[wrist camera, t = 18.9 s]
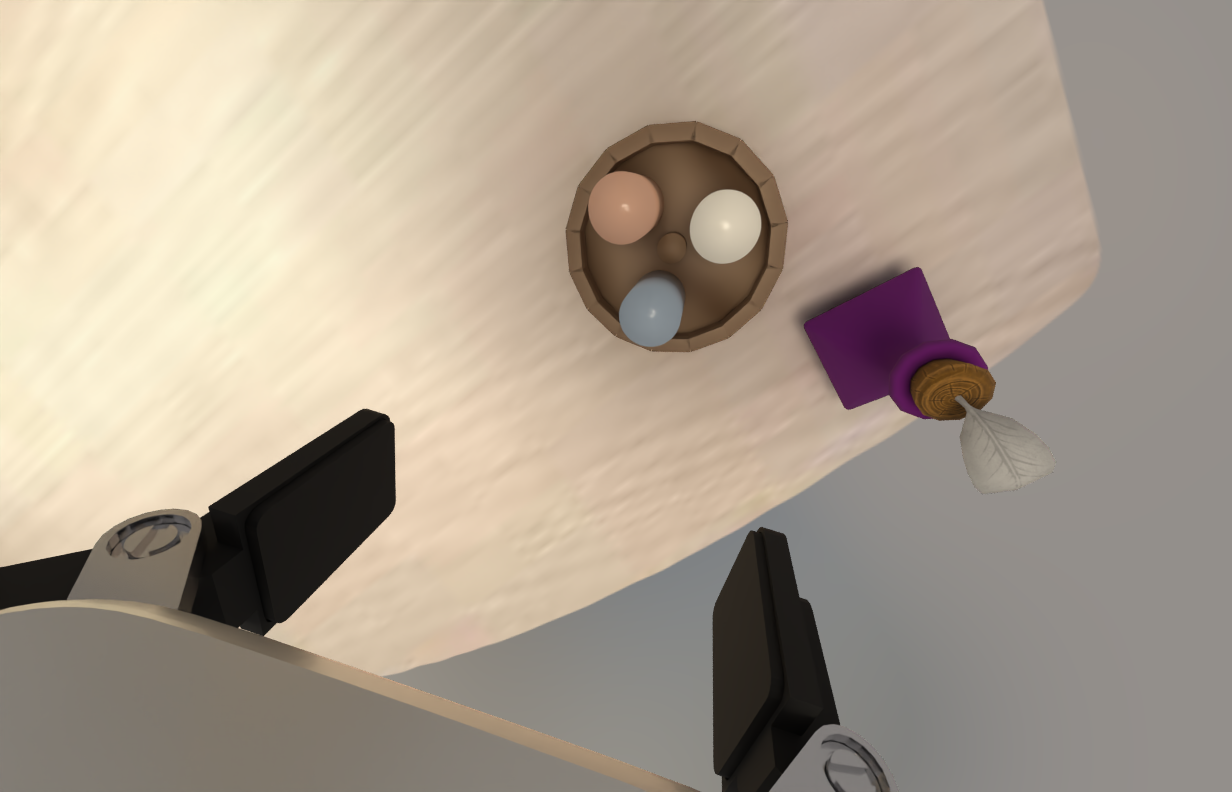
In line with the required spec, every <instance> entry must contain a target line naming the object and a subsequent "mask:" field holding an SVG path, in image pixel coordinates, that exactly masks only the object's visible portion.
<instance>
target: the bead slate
mask: <svg viewBox="0 0 1232 792" xmlns="http://www.w3.org/2000/svg"><path fill="white" fill-rule="evenodd" d="M685 298H686V296H685V289H684V286H683V284H682V283H681V281H680V280H679V279H678V278H677V277H676V276H675V275H674V274H672V273H670V272H667V271H663V270H656V271H651V272H649V273H647V274H645V275H644V276H642V277H641V278H640V279H639V281H638V282H637V283H636V284H635V286H634V287H633V288H632V290H631V291H630V292H629V293H628V295H627V296H626V297H625V298H624V300H623V302H622V304H621V307H620V311H619V321H620V325H621V328H622V330H623V332H624V333H625V335H626V336H627V337H628V338H629V339H630V340H631V341H633V342H635V343H636V344H639V345H641V346H646V347H655V346H659V345H662V344H664V343H666V342H668V341H669V340H670V339H672V338H673V336H674V335H675V334H676V332H677V331H678V328H679V326H680V322H681V317H682V313H683V308H684V304H685Z"/></svg>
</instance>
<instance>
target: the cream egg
mask: <svg viewBox="0 0 1232 792" xmlns="http://www.w3.org/2000/svg"><path fill="white" fill-rule="evenodd" d="M760 231H761V216H760V212H759V210H758V207H757V206H756V204H755V203H754V201H753V200H752V199H751V198H750V197H749V196H747V195H746V194H744V193H742V192H739V191H736V190H725V189H724V190H718V191H715V192H712V193H711V194H709V195H707V196H706V197H705V198H704V199H703V200H702V201H701V202H700V203H699V205H698V206H697V208H696V209H695V211H694V213H693V216H692V219H691V223H690V237H691V241H692V244H693V246H694V248H695V249H696V251H697V252H698V253H699V254H700V255H701V256H702V257H703V258H705V259H706V260H708V261H710V262H713V263H718V264H726V263H732V262H735V261H737V260H739V259H741V258H743V257H744V256H745V255H747V254H748V253H749V252H750V251H751V250H752V248H753V247H754V246H755V244H756V242H757V240H758V238H759V235H760Z"/></svg>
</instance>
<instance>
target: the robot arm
mask: <svg viewBox="0 0 1232 792" xmlns="http://www.w3.org/2000/svg"><path fill="white" fill-rule="evenodd" d="M395 502H396V488H395V428H394V424H393V423H392V422H390V418H389V417H388V416H387V415H386V414H382V413H379V412H376V411H372V410H369V409H362V410H360V411H358V412H357V413H355V414H354V415H352V416H350V417H349V418H347V419H346V420H344V421H343V422H341V423H339V424H338V425H336V426H335V427H333V428H332V429H330V430H328V431H327V432H325V433H324V434H322V435H321V436H319V437H317V438H316V439H314V440H313V441H311V442H309V443H308V444H306V445H305V446H303V447H302V448H300V449H298V450H297V451H295V452H294V453H292V454H291V455H289V456H287V457H286V458H284V459H283V460H281V461H280V462H278V463H276V464H275V465H273V466H272V467H270V468H269V469H267V470H265V471H264V472H262V473H261V474H259V475H258V476H256V477H254V478H253V479H251V480H250V481H248V482H247V483H245V484H243V485H242V486H240V487H239V488H237V489H235V490H234V491H232V492H231V493H229V494H228V495H226V496H224V497H223V498H221V499H220V500H218V501H217V502H215V503H213V504H212V505H210V506H209V507H208V508H209V511H210V512H208V513H207V514H205V515H204V516H202V517H201V518H199V516H198V515H197V514H195V513H193V512H190V511H188V510H181V509H165V510H157V511H153V512H148V513H144V514H141V515H138V516H135V517H133V518H130V519H127V520H126V521H124V522H122V523H120V524H118V525H116V526H114V527H113V528H111V529H110V530H109V531H107V532H106V533H105V534H103V535H102V536H101V538H100V539H99V540H98V541H97V543H96V544H95V546H94V548H93V549H90V550H85V551H80V552H75V553H70V554H65V555H60V556H55V557H50V558H45V559H40V560H35V561H30V562H25V563H20V564H15V565H10V566H5V567H0V792H700V791H698V790H695V789H693V788H691V787H688V786H686V785H683V784H680V783H678V782H675V781H672V780H669V779H667V778H664V777H662V776H659V775H656V774H654V773H651V772H648V771H646V770H643V769H640V768H637V767H635V766H632V765H630V764H627V763H624V762H622V761H619V760H616V759H614V758H611V757H608V756H605V755H602V754H600V753H597V752H594V751H591V750H588V749H585V748H583V747H580V746H577V745H574V744H571V743H569V742H566V741H563V740H560V739H557V738H555V737H552V736H549V735H546V734H543V733H540V732H538V731H535V730H532V729H529V728H526V727H523V726H521V725H518V724H515V723H512V722H509V721H506V720H504V719H501V718H498V717H495V716H492V715H490V714H486V713H484V712H481V711H478V710H475V709H472V708H470V707H467V706H464V705H461V704H458V703H455V702H452V701H449V700H447V699H444V698H441V697H438V696H435V695H432V694H429V693H427V692H424V691H421V690H418V689H415V688H412V687H409V686H406V685H403V684H401V683H398V682H395V681H392V680H389V679H386V678H383V677H381V676H378V675H375V674H372V673H369V672H366V671H363V670H360V669H357V668H354V667H351V666H349V665H346V664H343V663H340V662H337V661H334V660H331V659H328V658H325V657H322V656H319V655H316V654H313V653H311V652H308V651H305V650H302V649H299V648H296V647H293V646H290V645H287V644H284V643H281V642H278V641H275V640H272V639H270V638H267V637H264V635H265V634H266V633H267V632H268V631H269V630H270V629H271V628H272V627H273V626H274V625H275V624H276V623H282V622H284V621H286V620H287V619H288V618H289V617H290V616H291V615H292V614H293V613H294V612H295V611H296V610H297V609H298V608H299V607H300V606H301V605H302V604H303V603H304V602H305V601H306V600H307V599H308V598H309V597H310V596H311V595H312V594H313V593H314V592H315V591H316V590H317V589H318V588H319V587H320V586H321V585H322V584H323V583H324V582H325V581H326V580H327V579H328V577H329V576H330V575H331V574H332V573H333V572H334V571H335V570H336V569H337V568H338V567H339V566H340V565H341V564H342V563H343V562H344V561H345V560H346V559H347V558H348V557H349V556H350V555H351V554H352V553H353V552H354V551H355V550H356V549H357V548H358V547H359V546H360V545H361V544H362V543H363V542H364V541H365V540H366V539H367V538H368V537H369V536H370V535H371V534H372V533H373V532H374V531H375V530H376V529H377V528H378V526H379V525H380V524H381V523H382V522H383V521H384V520H385V519H386V518H387V517H388V516H389V515H390V514H391V512H392V511H393V509H394V507H395ZM238 627H241V629H239V628H238ZM242 629H244V630H242ZM245 630H247V631H245ZM248 631H250V632H248ZM251 632H253V633H251ZM254 633H256V634H254ZM257 634H259V635H257ZM713 745H714V746H713V747H714V749H713V758H714V761H713V762H714V771H715V774H717V775H720V776H722V792H899V790H898V787H897V784H896V781H895V779H894V776H893V774H892V772H891V771H890V769H889V767H888V765H887V764H886V762H885V760H884V759H883V758H882V756H881V755H880V754H879V753H878V752H877V751H876V749H875V748H874V747H873V746H872V745H871V744H870V743H869V742H867V741H866V740H865V739H864V738H863V737H861V736H860V735H859V734H857V733H856V732H854V731H852V730H850V729H848V728H847V727H843V726H840V722H839V718H838V714H837V710H836V705H835V701H834V697H833V693H832V689H831V685H830V681H829V676H828V672H827V668H826V664H825V660H824V656H823V652H822V648H821V643H820V639H819V635H818V631H817V627H816V623H815V619H814V615H813V610H812V608H811V605H810V603H809V602H808V601H807V600H806V599H803V598H800V597H799V594H798V589H797V584H796V580H795V575H794V570H793V566H792V561H791V557H790V552H789V548H788V543H787V538H786V536H785V535H784V534H783V533H780V532H776V531H773V530H770V529H766V528H763V527H760V528H759V529H758V531H757V532H755V531H750V532H749V534H748V535H747V537H746V540H745V542H744V544H743V546H742V548H741V550H740V552H739V554H738V557H737V559H736V561H735V563H734V565H733V567H732V569H731V571H730V573H729V576H728V578H727V580H726V582H725V584H724V586H723V588H722V590H721V592H720V595H719V597H718V599H717V601H716V603H715V606H714V611H713Z"/></svg>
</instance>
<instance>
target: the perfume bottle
mask: <svg viewBox="0 0 1232 792" xmlns="http://www.w3.org/2000/svg"><path fill="white" fill-rule="evenodd" d="M804 329H805V331H806V333H807V335H808V337H809V339H810V341H811V343H812V345H813V346H814V348H815V350H816V352H817V354H818V356H819V358H820V360H821V362H822V364H823V366H824V368H825V370H826V372H827V374H828V376H829V378H830V380H831V382H832V384H833V386H834V388H835V390H836V392H837V394H838V396H839V398H840V400H841V402H842V404H843V406H844V408H846V409H847V410H849V409H853V408H856V407H858V406H861V405H864V404H866V403H869V402H872V401H874V400H877V399H879V398H882V397H885V396H887V395H890V397H891V398H892V400H893V401H894V402H895V404H896V405H897V406H898V408H899V409H900V410H901V411H903V412H906V413H909V414H911V415H914V416H917V417H920V418H922V419H936V420H939V421H941V420H960V419H962V418H965V421H964V424H963V428H962V432H961V435H960V441H961V447H962V453H963V459H964V463H965V466H966V469H967V472H968V475H969V477H970V479H971V481H972V483H973V485H974V487H975V488H976V489H977V490H978V491H979V492H980V493H981V494H992V493H998V492H1006V491H1014V490H1018V489H1020V488H1022V487H1024V486H1026V485H1028V484H1030V483H1032V482H1034V481H1036V480H1038V479H1040V478H1042V477H1044V476H1047V475H1049V474H1051V473H1053V470H1054V467H1055V464H1056V461H1055V459H1054V457H1053V455H1052V453H1051V450H1050V448H1049V447H1048V446H1047V445H1046V444H1045V443H1044V442H1043V441H1042V440H1041V439H1040V438H1039V437H1038V436H1037V435H1036V434H1035V433H1033V432H1032V431H1030V430H1029V429H1027V428H1026V427H1024V426H1023V425H1021V424H1020V423H1018V422H1017V421H1015V420H1014V419H1012V418H1009V417H1005V416H1001V415H997V414H993V413H990V412H986V411H982V410H981V409H982V408H983V407H984V406H985V405H986V404H987V403H988V402H989V401H990V400H991V399H992V397H993V393H994V389H995V385H996V382H995V380H994V379H993V377H992V376H991V374H990V373H989V371H988V367H987V365H986V363H985V362H984V360H983V359H982V357H981V356H980V354H979V352H978V351H977V349H976V348H975V347H973V346H970V345H967V344H964V343H962V342H959V341H956V340H953V339H950V338H949V335H948V333H947V331H946V328H945V326H944V323H943V321H942V318H941V316H940V313H939V311H938V309H937V306H936V304H935V301H934V299H933V296H932V294H931V291H930V289H929V287H928V284H927V282H926V279H925V277H924V274H923V272H922V270H921V268H919V267H916V268H913V269H911V270H909V271H907V272H905V273H903V274H901V275H899V276H897V277H895V278H893V279H891V280H889V281H887V282H885V283H883V284H881V285H879V286H877V287H875V288H873V289H871V290H869V291H867V292H865V293H863V294H861V295H859V296H857V297H855V298H853V299H851V300H849V301H847V302H845V303H843V304H841V305H839V306H837V307H835V308H833V309H831V310H829V311H827V312H825V313H823V314H821V315H819V316H817V317H815V318H813V319H811V320H809V321H807V322H805V324H804Z"/></svg>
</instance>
